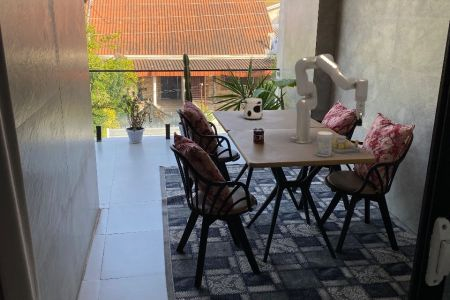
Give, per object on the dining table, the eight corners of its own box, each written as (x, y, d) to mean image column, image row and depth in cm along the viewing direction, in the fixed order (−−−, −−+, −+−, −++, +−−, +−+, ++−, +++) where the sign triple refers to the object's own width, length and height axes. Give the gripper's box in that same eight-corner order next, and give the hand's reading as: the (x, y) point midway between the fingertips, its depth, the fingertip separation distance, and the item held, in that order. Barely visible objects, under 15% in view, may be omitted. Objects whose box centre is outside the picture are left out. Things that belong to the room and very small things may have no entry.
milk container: (240, 117, 403) (241, 98, 399) (258, 116, 408) (258, 97, 404) (247, 121, 387) (247, 100, 383) (265, 120, 392) (266, 100, 388)
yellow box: (331, 148, 292) (332, 140, 291) (331, 143, 304) (332, 136, 302) (358, 149, 288) (358, 142, 287) (357, 145, 299) (358, 138, 298)
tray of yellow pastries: (337, 153, 286) (338, 140, 283) (322, 146, 304) (323, 133, 302) (359, 152, 290) (360, 139, 287) (343, 144, 308) (344, 132, 306)
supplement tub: (321, 152, 290) (322, 130, 286) (334, 154, 283) (335, 132, 279) (313, 155, 283) (314, 132, 279) (326, 158, 277) (327, 135, 273)
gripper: (368, 100, 272) (366, 127, 276) (365, 96, 288) (363, 122, 293) (355, 100, 273) (353, 127, 278) (353, 96, 290) (351, 121, 294)
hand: (358, 124), depth 285 cm, fingers open, 9 cm apart
